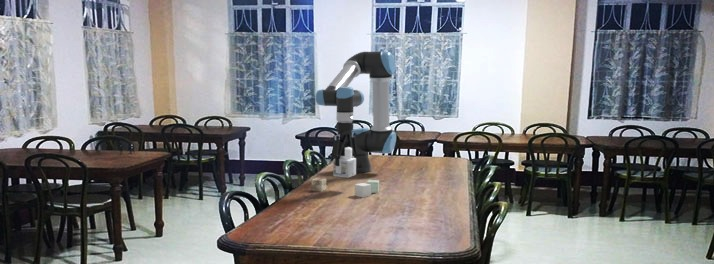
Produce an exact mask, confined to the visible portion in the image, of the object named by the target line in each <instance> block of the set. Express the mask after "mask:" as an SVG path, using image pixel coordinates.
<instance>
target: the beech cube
mask: <svg viewBox="0 0 714 264" xmlns="http://www.w3.org/2000/svg"><path fill="white" fill-rule="evenodd" d="M325 189H326V190H327V178H322V177H315V178H312V179H311V191H312V190H313V191H314V192H321V191H322V192H324V191H325ZM323 190H324V191H323Z"/></svg>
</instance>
